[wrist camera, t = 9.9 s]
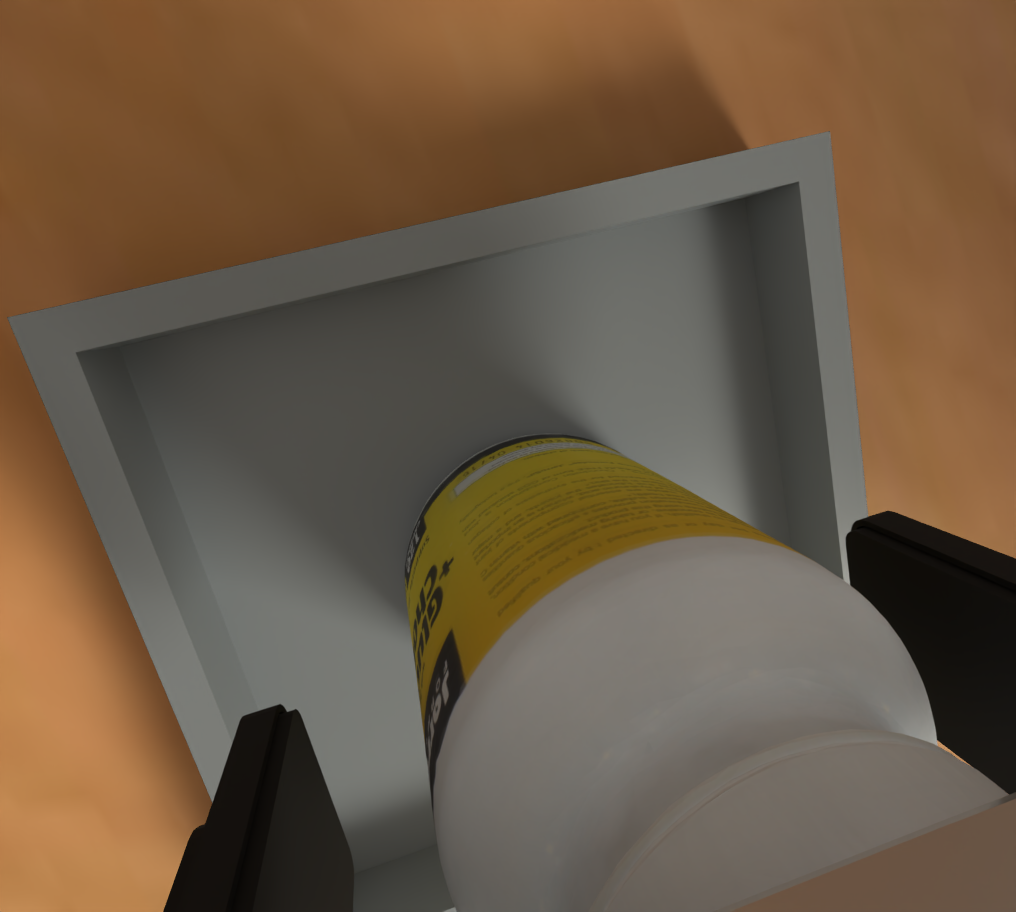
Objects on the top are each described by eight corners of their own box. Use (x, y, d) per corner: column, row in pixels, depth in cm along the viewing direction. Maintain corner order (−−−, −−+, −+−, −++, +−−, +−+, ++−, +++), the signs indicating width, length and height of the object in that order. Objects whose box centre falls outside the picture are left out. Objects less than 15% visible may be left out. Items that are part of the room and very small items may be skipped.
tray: (757, 159, 16) (829, 131, 13) (826, 711, 20) (892, 770, 17) (75, 316, 14) (7, 317, 11) (306, 899, 17) (294, 996, 15)
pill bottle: (406, 423, 15) (513, 758, 4) (673, 431, 16) (1362, 692, 5) (398, 687, 16) (460, 1542, 5) (646, 674, 17) (1143, 1318, 6)
